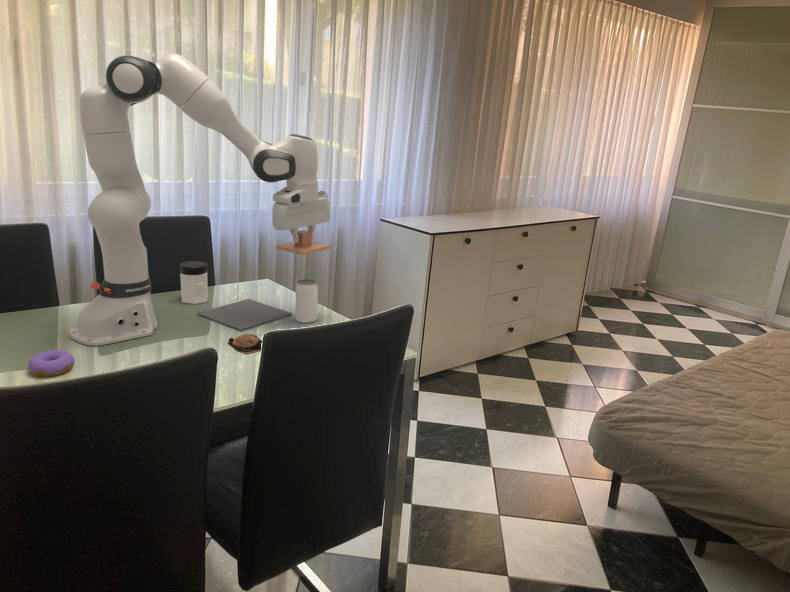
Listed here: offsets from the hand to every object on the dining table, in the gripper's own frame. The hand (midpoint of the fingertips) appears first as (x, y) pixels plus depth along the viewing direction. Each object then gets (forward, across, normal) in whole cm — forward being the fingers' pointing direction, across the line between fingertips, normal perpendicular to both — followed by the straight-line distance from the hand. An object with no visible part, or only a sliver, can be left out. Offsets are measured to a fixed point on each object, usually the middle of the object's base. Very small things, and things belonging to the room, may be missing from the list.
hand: (302, 241), depth 178 cm
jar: (+24, +12, -37) cm, 46 cm away
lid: (+2, 0, 0) cm, 2 cm away
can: (+24, 0, +1) cm, 24 cm away
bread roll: (+25, +25, +4) cm, 36 cm away
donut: (+23, +66, -17) cm, 72 cm away
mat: (+24, +10, -15) cm, 30 cm away
